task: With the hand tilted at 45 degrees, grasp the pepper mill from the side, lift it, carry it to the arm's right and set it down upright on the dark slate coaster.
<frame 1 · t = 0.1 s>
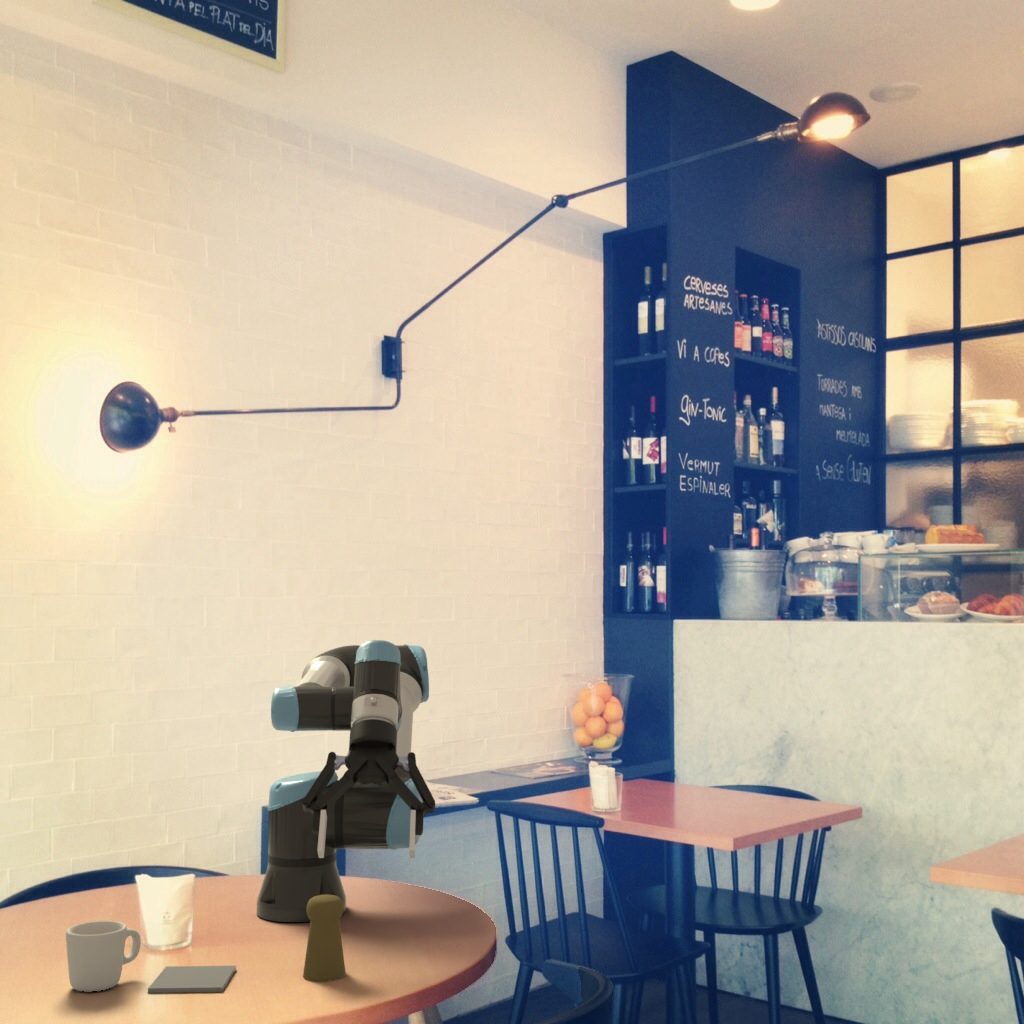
hand: (366, 854, 179), 15 cm above the table, tool tilted 35°, fingers open, 13 cm apart
cup: (104, 986, 166), on the table
coaster: (193, 981, 168), on the table
pepper mill: (324, 976, 171), on the table
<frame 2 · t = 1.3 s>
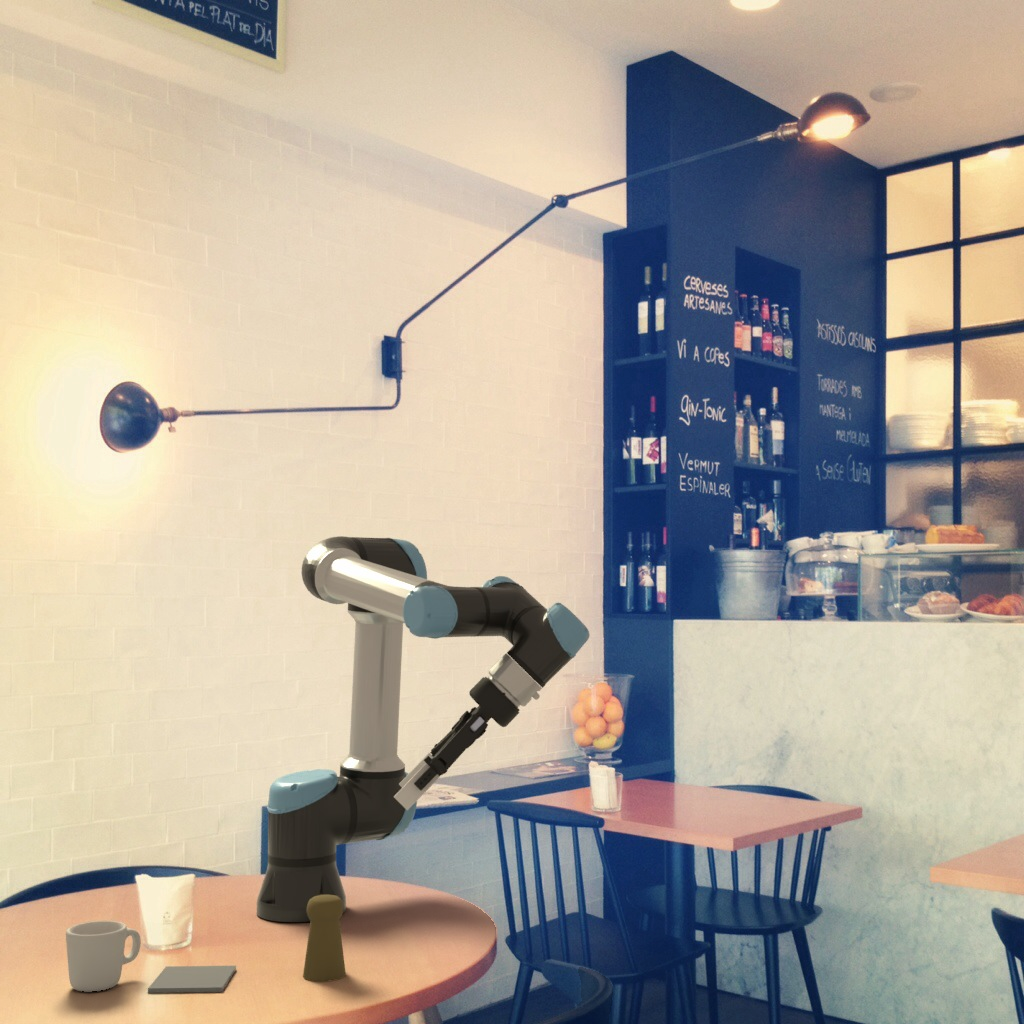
hand: (402, 796, 176), 24 cm above the table, tool tilted 45°, fingers open, 13 cm apart
nothing on the table moved.
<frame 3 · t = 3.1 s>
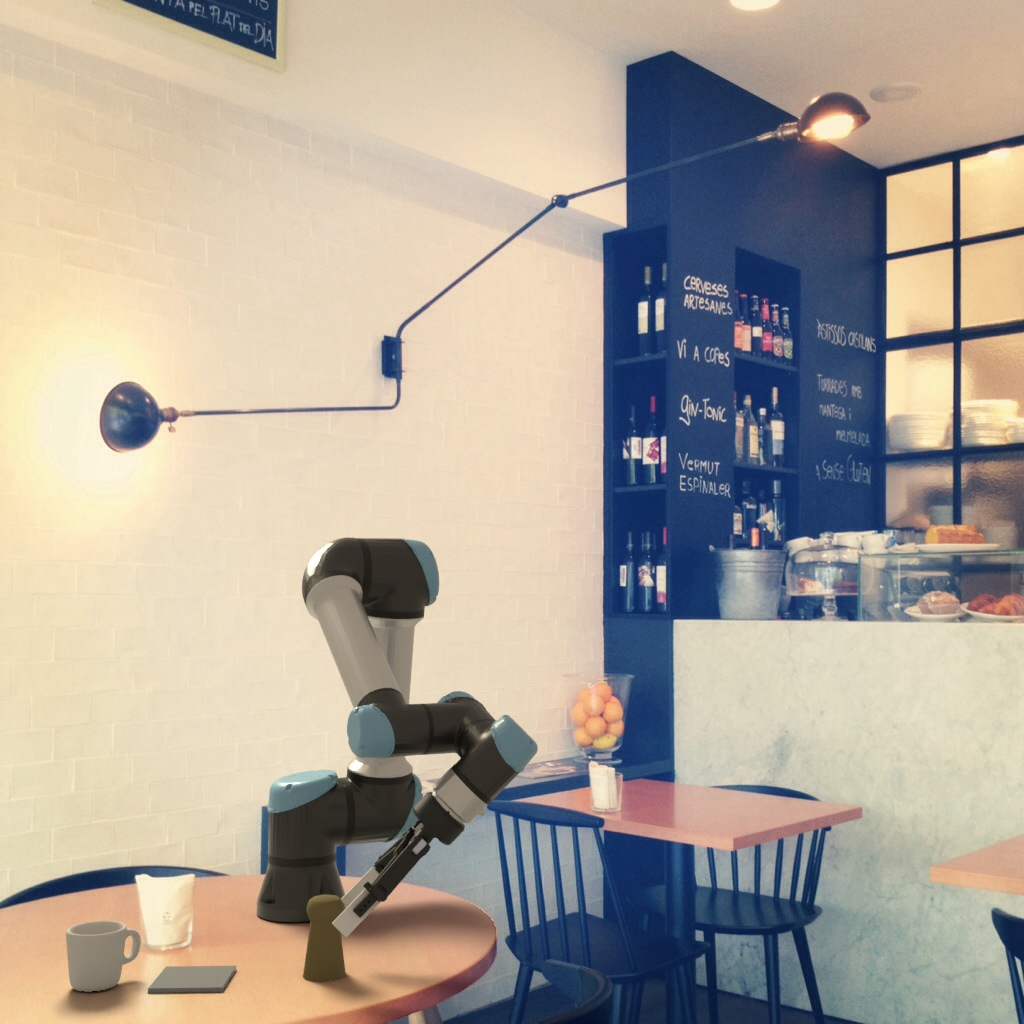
hand: (343, 917, 170), 8 cm above the table, tool tilted 45°, fingers open, 13 cm apart
nothing on the table moved.
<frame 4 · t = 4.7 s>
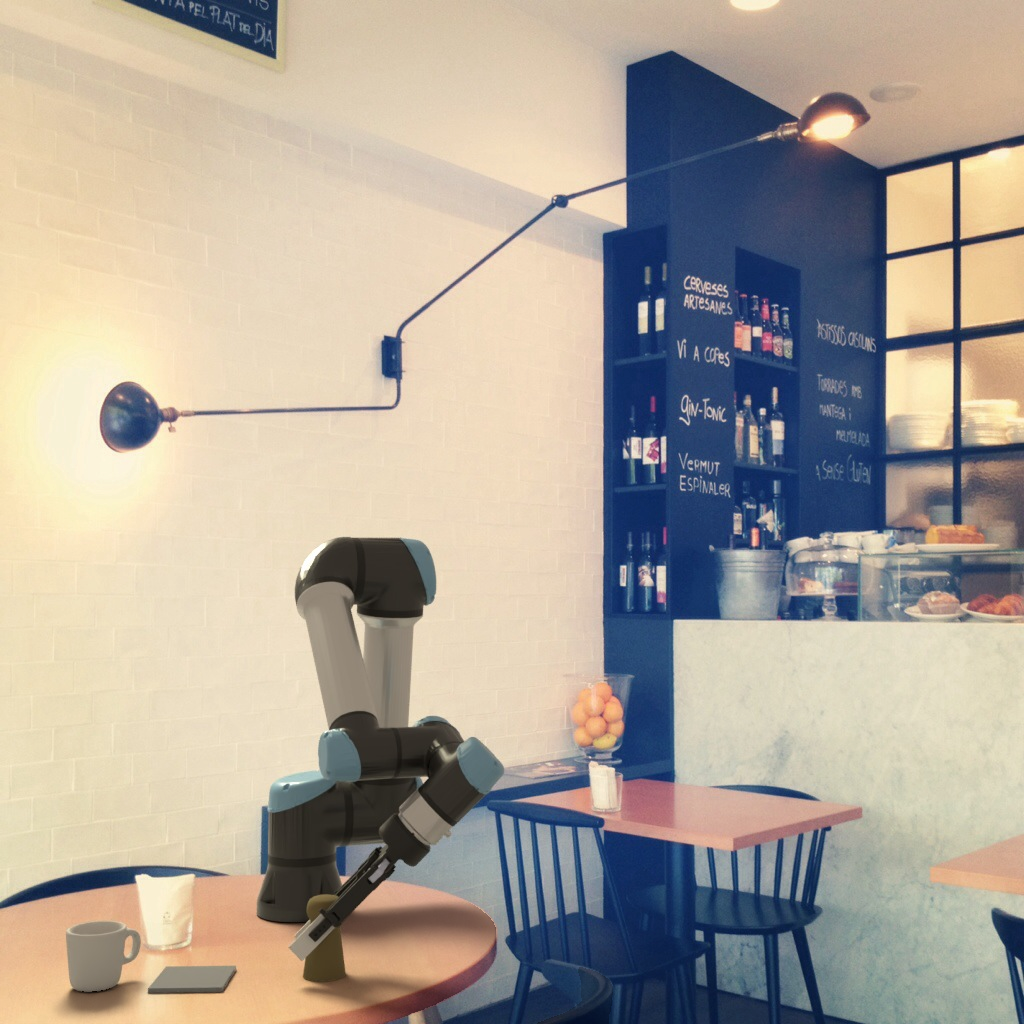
hand: (298, 947, 171), 4 cm above the table, tool tilted 45°, fingers closed on pepper mill, 5 cm apart
pepper mill: (324, 976, 171), on the table, touching gripper
everything else where it was.
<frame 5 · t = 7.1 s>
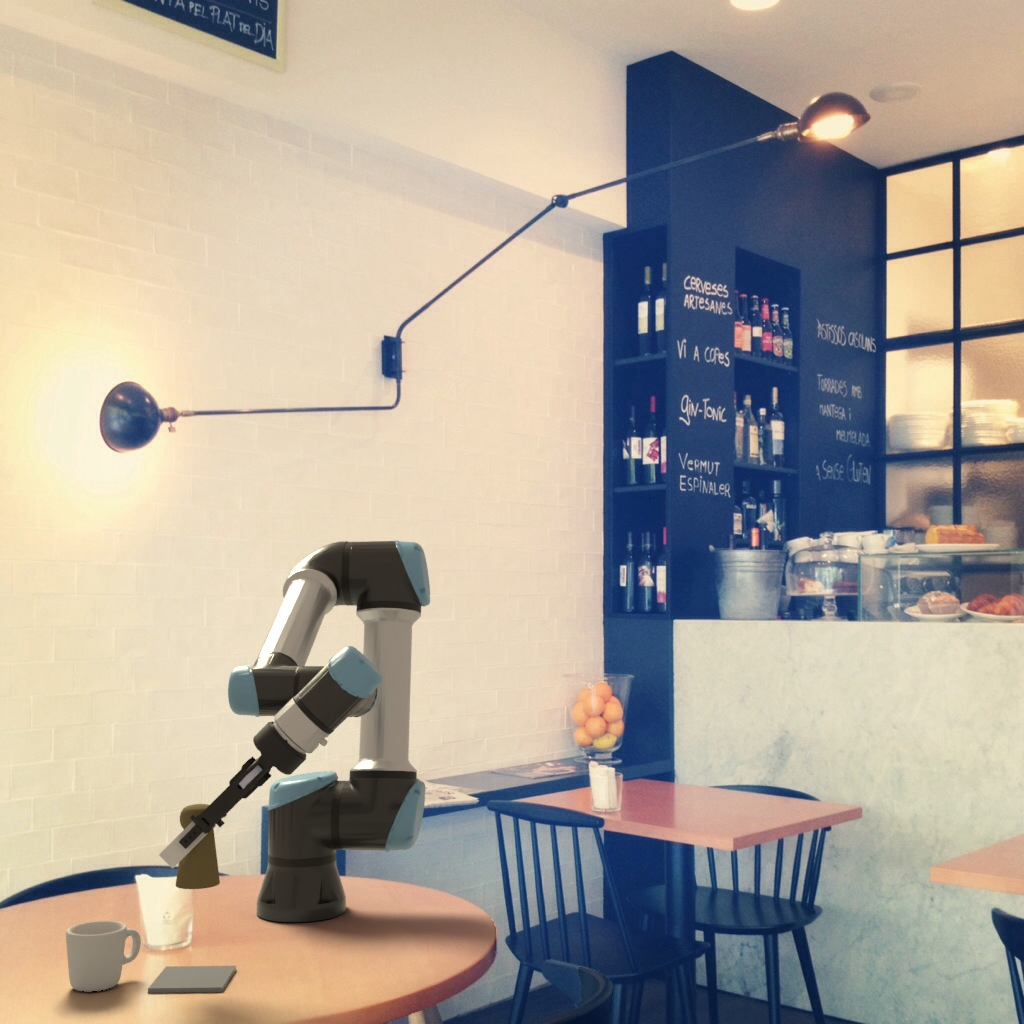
hand: (171, 856, 169), 17 cm above the table, tool tilted 45°, fingers closed on pepper mill, 5 cm apart
pepper mill: (197, 885, 169), point 13 cm above the table, touching gripper
everything else where it was.
when the fingers open (6 cm above the table, at t = 9.5 s): pepper mill drops 1 cm, resting on coaster.
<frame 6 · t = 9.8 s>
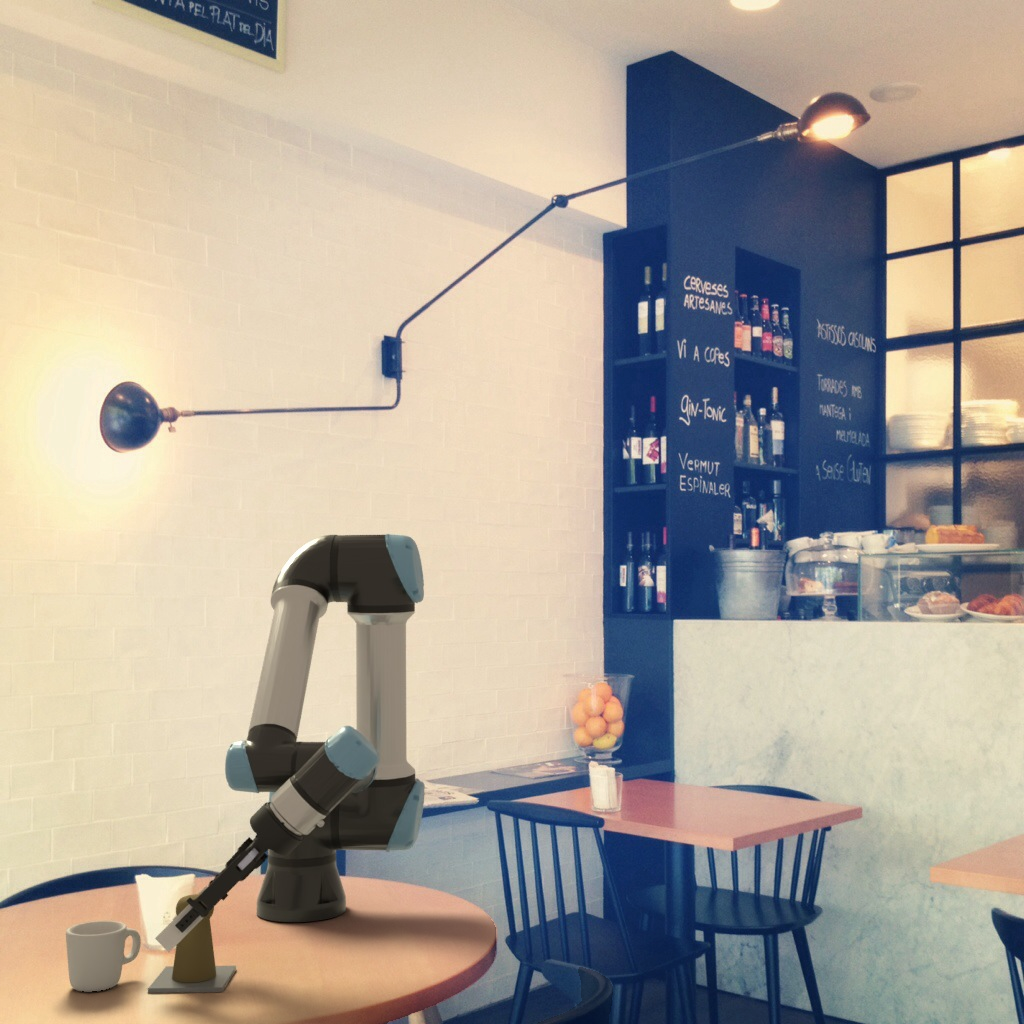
hand: (171, 935, 168), 6 cm above the table, tool tilted 45°, fingers open, 9 cm apart
pepper mill: (194, 977, 168), resting on coaster
everything else where it was.
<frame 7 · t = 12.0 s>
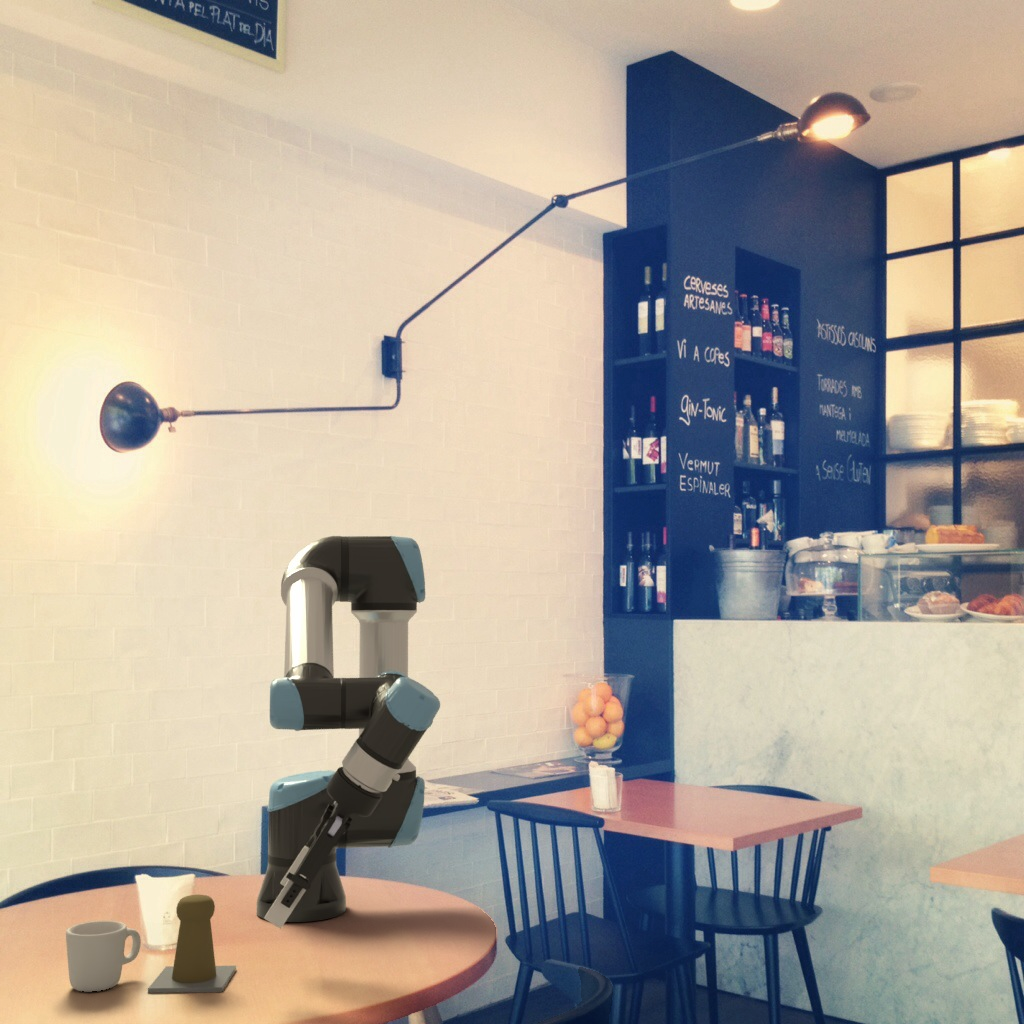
hand: (280, 904, 170), 10 cm above the table, tool tilted 35°, fingers open, 13 cm apart
nothing on the table moved.
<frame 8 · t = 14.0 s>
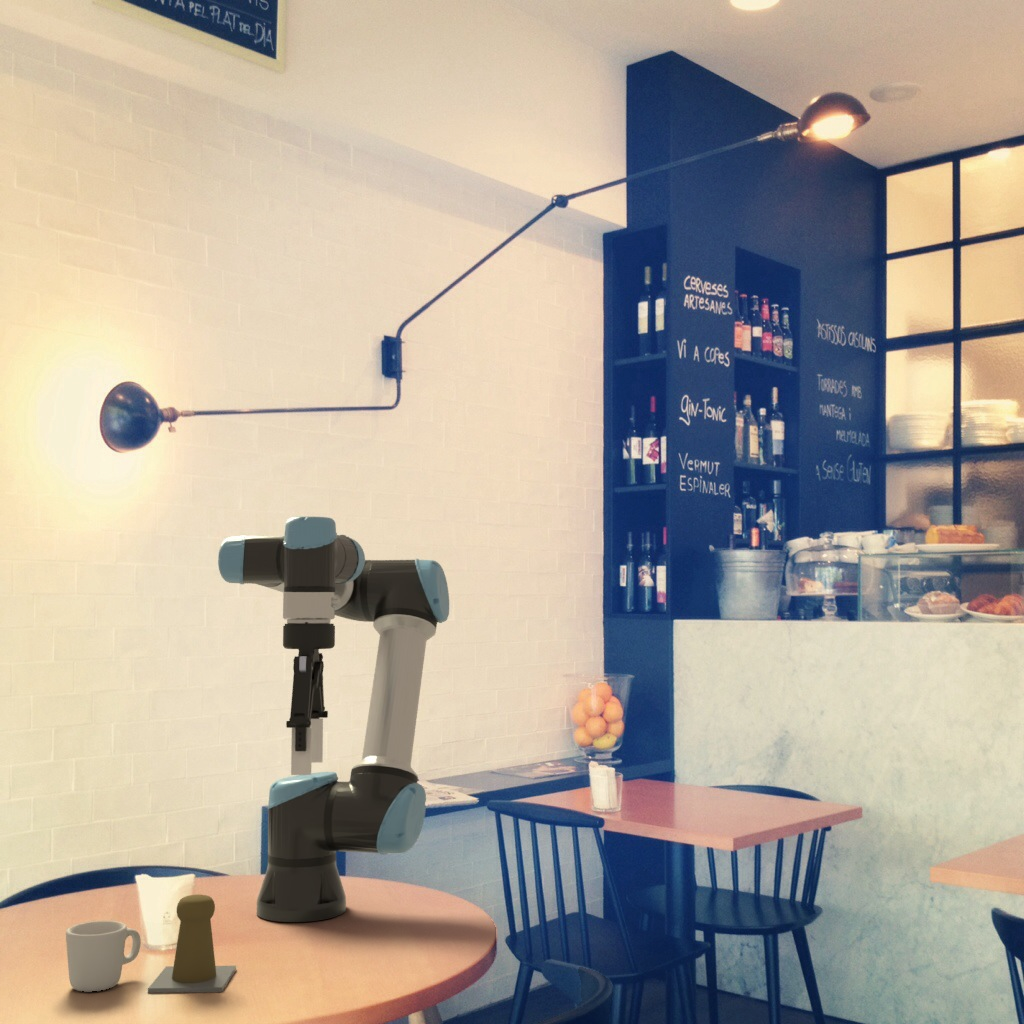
hand: (307, 768, 175), 29 cm above the table, tool pointing down, fingers open, 13 cm apart
nothing on the table moved.
at the end: pepper mill 0.1 cm from the coaster (horizontally); pepper mill tilted 0°; the gripper is holding nothing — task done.
